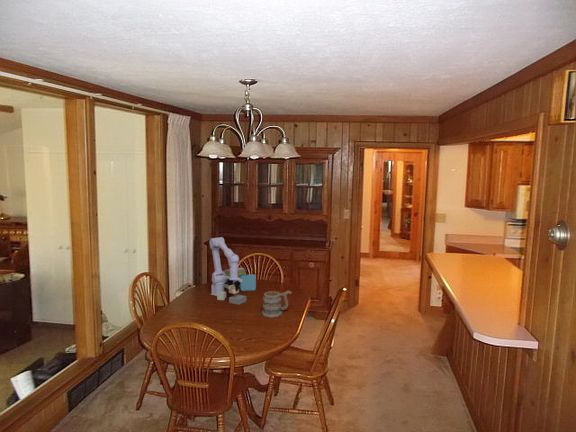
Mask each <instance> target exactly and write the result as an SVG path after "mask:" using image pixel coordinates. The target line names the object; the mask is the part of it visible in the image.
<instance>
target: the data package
mask: <svg viewBox="0 0 576 432" xmlns="http://www.w3.org/2000/svg"><path fill="white" fill-rule="evenodd" d="M240 279H242V282H241V283H240V287H239V289H240V290H241V292H248V291H256V290H257V277H256V275H255V274H254V273H253V274H252V273H251V274H249V273H248V274H245V275H241V276H240Z"/></svg>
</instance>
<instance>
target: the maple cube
mask: <svg viewBox="0 0 576 432" xmlns="http://www.w3.org/2000/svg"><path fill="white" fill-rule="evenodd" d="M239 291H240V288H239V289H238V291H235V285H234V284H233V285H230V286H229V289H228V293H229V294H232V295H236V294H239Z"/></svg>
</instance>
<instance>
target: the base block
mask: <svg viewBox="0 0 576 432" xmlns="http://www.w3.org/2000/svg"><path fill="white" fill-rule="evenodd" d="M246 302H247V296H246V295H242V294H239V293H236V294H233V295H232V296H230V297H228V303H229V304H234V305H242V304H244V303H246Z"/></svg>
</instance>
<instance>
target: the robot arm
mask: <svg viewBox="0 0 576 432" xmlns="http://www.w3.org/2000/svg"><path fill="white" fill-rule="evenodd" d="M208 243H209V248H210V250H211V253H212V260H213V266H214V271H213V273H211V282H212V284H211V286H210V287H211V293H210V296H211V295H212V296H215V297H217V293H218V292H219V291H224V292H225V288H224V283H225V282H226V279H228V280H227V283H228V285H229V286H230V285H233V280H234V281H236V282H234V284H235V291H238V289H239V290H240V287H239V286H240V283H241V282H242V279H240V278H238V267H239V265H238V263H239V262H240V256H239V255H238V254H236V253H234V251H233V250H232V249H231V248H228V246H227V244H226V242H225V239H224V237H223V236H221V237H214V238H213V237H211V238H210V239H209V242H208ZM220 249H221V250H222V251H223V254H224V256H225V257H226V259H227V262H228V267H229V269H230V276H226V275H225V272H224V270H222V264H221V257H220ZM226 295H227V292H226Z"/></svg>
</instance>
